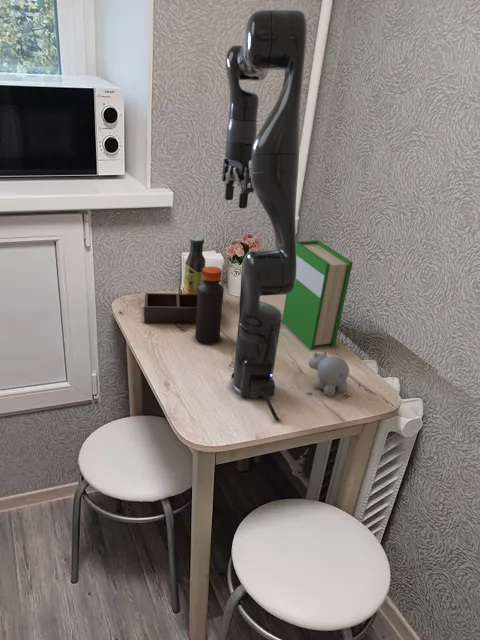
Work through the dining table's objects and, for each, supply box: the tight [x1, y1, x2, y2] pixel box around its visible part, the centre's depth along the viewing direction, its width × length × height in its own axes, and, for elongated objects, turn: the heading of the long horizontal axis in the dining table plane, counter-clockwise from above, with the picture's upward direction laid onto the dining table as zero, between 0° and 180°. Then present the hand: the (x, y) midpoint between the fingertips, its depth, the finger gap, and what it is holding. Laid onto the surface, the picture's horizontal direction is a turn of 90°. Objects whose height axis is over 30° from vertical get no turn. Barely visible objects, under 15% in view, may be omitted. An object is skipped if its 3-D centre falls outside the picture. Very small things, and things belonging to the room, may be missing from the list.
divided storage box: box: [143, 292, 198, 325], centre depth 154 cm, size 10×19×5 cm, turn 92°
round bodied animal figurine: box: [308, 349, 350, 397], centre depth 125 cm, size 7×12×8 cm, turn 24°
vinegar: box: [194, 265, 225, 345], centre depth 139 cm, size 7×7×20 cm
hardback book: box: [281, 239, 354, 350], centre depth 143 cm, size 18×7×24 cm, turn 18°
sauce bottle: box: [182, 235, 206, 294], centre depth 161 cm, size 7×6×20 cm
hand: (235, 203), depth 142 cm, fingers open, 8 cm apart
